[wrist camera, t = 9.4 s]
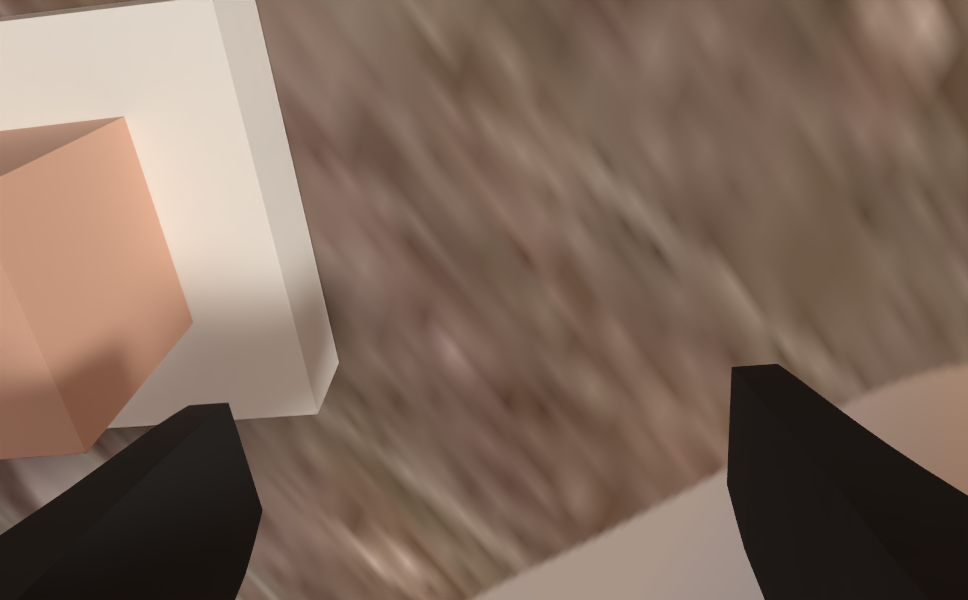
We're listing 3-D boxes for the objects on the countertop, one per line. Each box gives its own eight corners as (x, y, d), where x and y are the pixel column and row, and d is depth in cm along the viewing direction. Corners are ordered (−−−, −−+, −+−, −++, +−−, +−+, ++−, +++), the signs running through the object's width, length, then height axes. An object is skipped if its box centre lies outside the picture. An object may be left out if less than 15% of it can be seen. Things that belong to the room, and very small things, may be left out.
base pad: (338, 362, 21) (317, 414, 19) (10, 387, 22) (-46, 438, 20) (251, -14, 17) (211, -4, 15) (-153, 35, 18) (-249, 51, 16)
